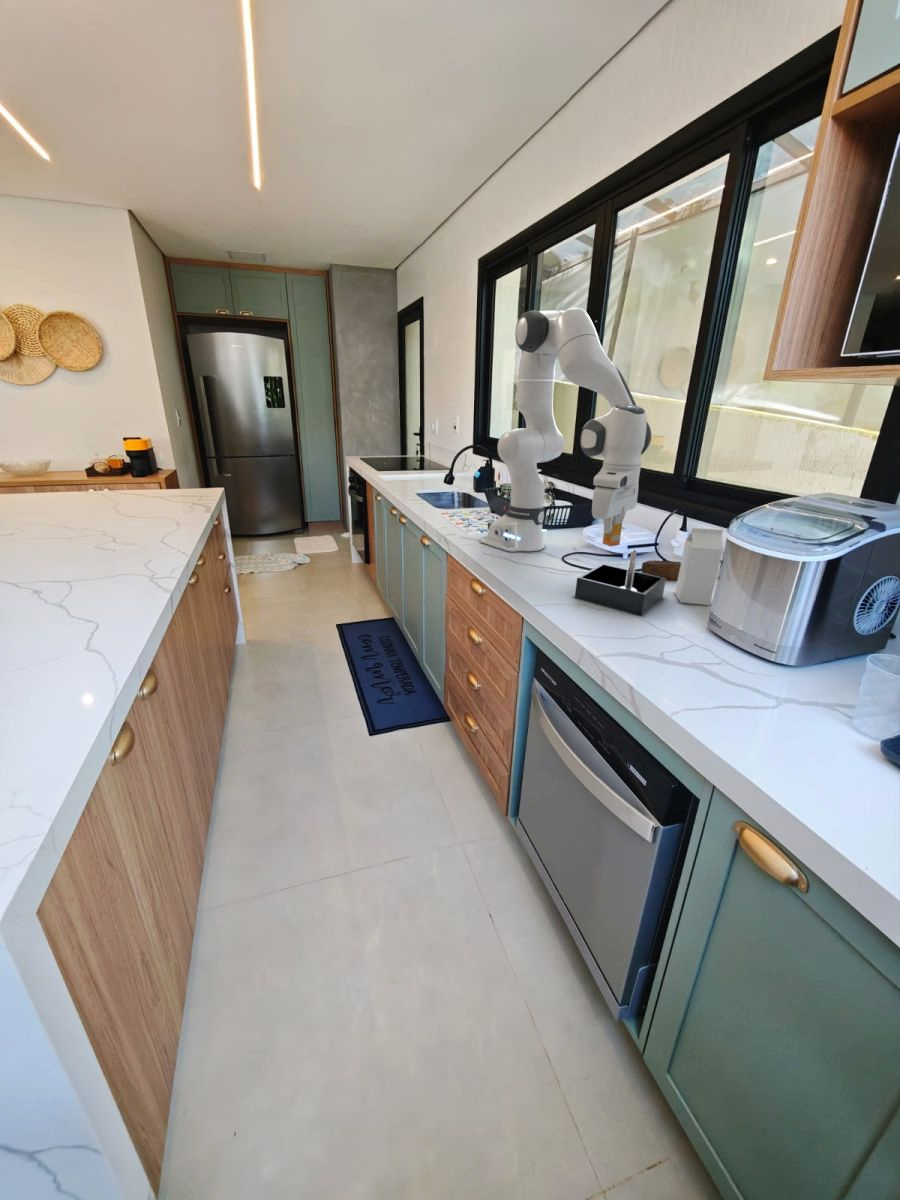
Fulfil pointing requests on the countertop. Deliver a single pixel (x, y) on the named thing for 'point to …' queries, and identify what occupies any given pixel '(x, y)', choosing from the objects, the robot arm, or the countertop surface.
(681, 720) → the countertop surface
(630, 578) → the screw
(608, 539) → the supplement box
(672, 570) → the brick
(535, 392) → the robot arm
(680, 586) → the milk carton
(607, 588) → the grey storage bin
